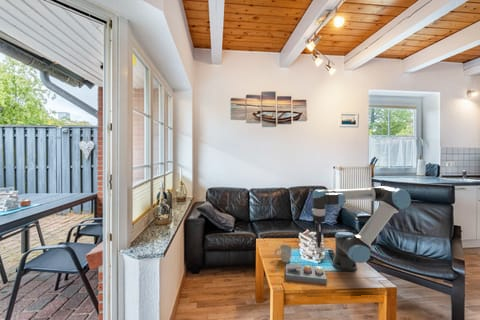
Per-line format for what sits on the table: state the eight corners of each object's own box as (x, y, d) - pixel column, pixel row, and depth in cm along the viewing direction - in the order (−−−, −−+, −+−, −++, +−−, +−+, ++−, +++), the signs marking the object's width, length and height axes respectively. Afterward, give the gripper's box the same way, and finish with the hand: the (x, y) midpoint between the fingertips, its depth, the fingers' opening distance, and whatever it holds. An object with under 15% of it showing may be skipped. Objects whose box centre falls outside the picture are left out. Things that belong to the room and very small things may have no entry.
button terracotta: (310, 270, 147) (310, 265, 146) (311, 273, 142) (311, 268, 142) (304, 269, 147) (304, 264, 147) (304, 273, 143) (304, 268, 143)
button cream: (322, 271, 145) (322, 266, 145) (323, 274, 141) (323, 269, 141) (315, 270, 146) (315, 265, 146) (316, 274, 142) (316, 269, 142)
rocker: (301, 264, 148) (300, 262, 148) (301, 268, 143) (300, 266, 143) (288, 266, 150) (288, 264, 150) (288, 269, 145) (288, 268, 145)
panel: (323, 272, 150) (323, 265, 149) (326, 284, 136) (326, 276, 136) (286, 268, 155) (286, 262, 155) (285, 279, 141) (285, 272, 141)
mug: (291, 263, 162) (291, 249, 161) (274, 262, 164) (274, 248, 164) (291, 258, 170) (291, 245, 170) (274, 257, 172) (274, 243, 172)
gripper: (311, 211, 150) (311, 247, 151) (313, 217, 137) (313, 255, 138) (323, 212, 148) (323, 248, 149) (326, 217, 136) (326, 256, 136)
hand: (318, 251), depth 143 cm, fingers closed
